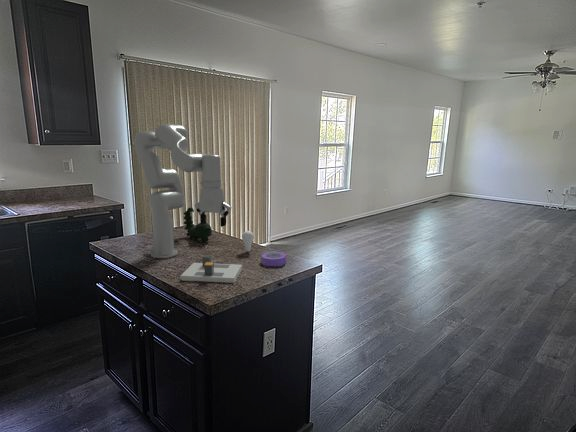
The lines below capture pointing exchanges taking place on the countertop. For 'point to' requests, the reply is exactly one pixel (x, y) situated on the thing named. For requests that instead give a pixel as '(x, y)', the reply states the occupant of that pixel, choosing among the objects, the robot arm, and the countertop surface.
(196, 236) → the toy figurine
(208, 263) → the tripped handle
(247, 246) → the lightbulb
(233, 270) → the board
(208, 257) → the on handle
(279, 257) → the masking tape
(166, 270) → the countertop surface
